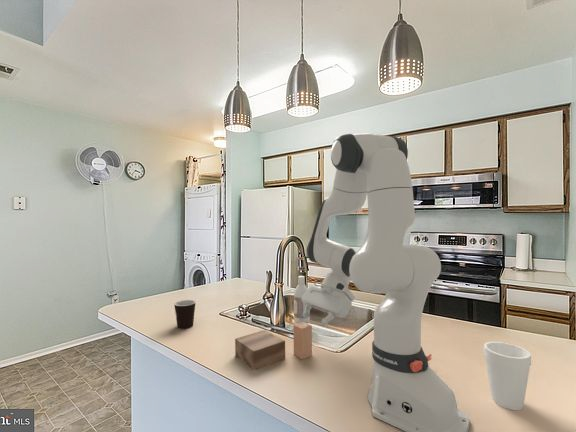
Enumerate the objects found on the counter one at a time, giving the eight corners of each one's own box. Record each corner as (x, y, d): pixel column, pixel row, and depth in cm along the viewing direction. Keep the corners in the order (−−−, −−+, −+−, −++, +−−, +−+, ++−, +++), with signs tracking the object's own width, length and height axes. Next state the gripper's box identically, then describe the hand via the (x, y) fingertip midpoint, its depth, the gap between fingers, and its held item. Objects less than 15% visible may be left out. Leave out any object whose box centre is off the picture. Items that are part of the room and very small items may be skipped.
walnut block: (285, 358, 98) (285, 340, 98) (254, 370, 91) (253, 351, 91) (265, 346, 108) (265, 329, 108) (235, 356, 100) (235, 338, 100)
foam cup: (507, 389, 79) (506, 340, 79) (541, 411, 70) (541, 356, 70) (475, 392, 78) (474, 343, 78) (506, 416, 69) (506, 360, 69)
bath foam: (291, 319, 134) (291, 275, 134) (306, 318, 136) (305, 274, 136) (297, 325, 127) (296, 278, 127) (312, 323, 129) (311, 277, 129)
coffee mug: (191, 330, 123) (191, 305, 123) (171, 330, 123) (170, 306, 123) (200, 320, 135) (200, 298, 135) (181, 320, 135) (181, 298, 135)
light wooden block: (312, 355, 100) (311, 325, 100) (302, 359, 97) (301, 328, 97) (303, 350, 103) (303, 321, 103) (293, 354, 101) (293, 324, 101)
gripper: (309, 277, 116) (290, 308, 110) (350, 287, 100) (330, 323, 94) (318, 287, 119) (299, 317, 113) (359, 298, 103) (339, 334, 97)
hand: (313, 320), depth 103 cm, fingers open, 8 cm apart
